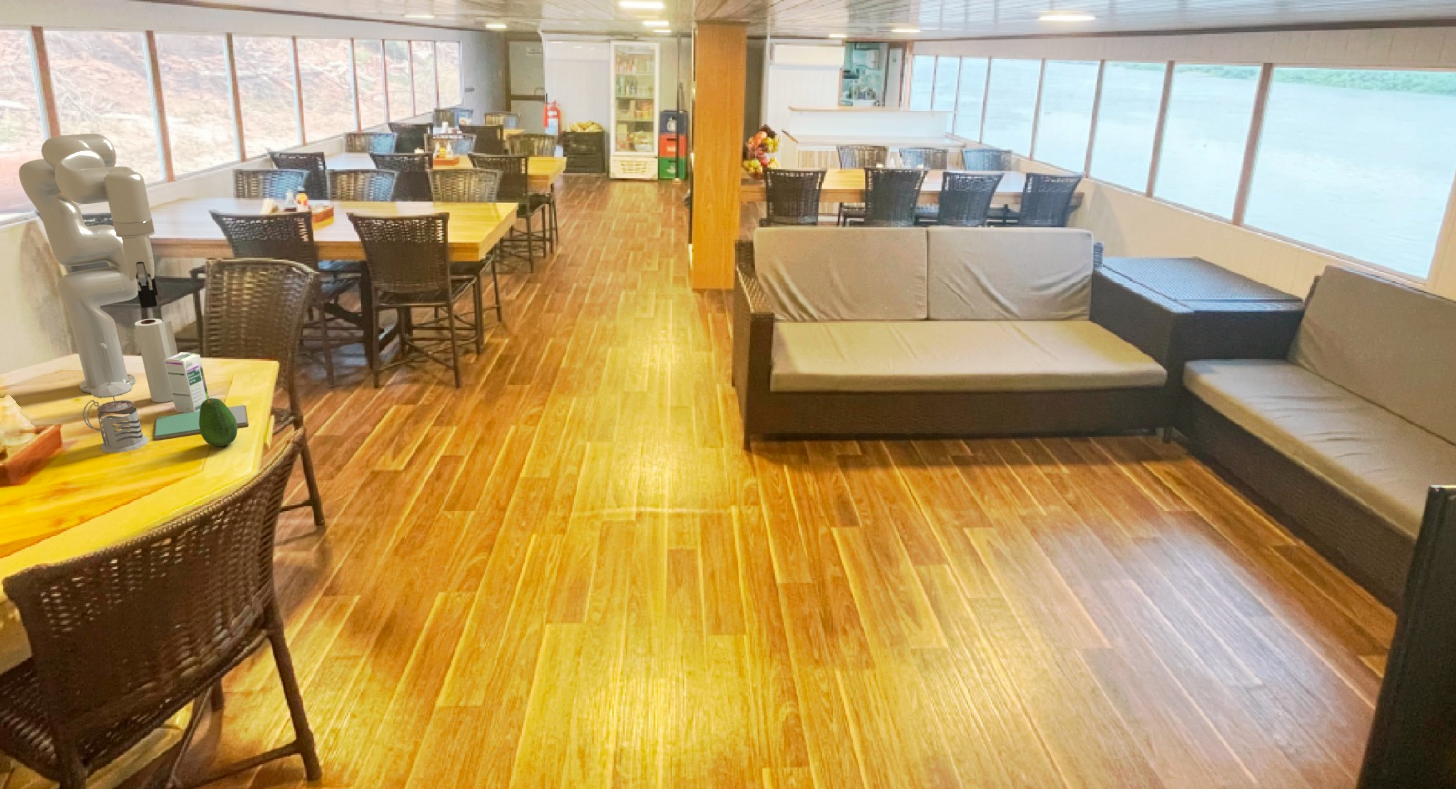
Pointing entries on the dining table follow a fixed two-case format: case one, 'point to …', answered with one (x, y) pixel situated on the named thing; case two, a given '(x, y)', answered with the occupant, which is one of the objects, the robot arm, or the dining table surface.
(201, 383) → the syrup box
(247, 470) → the dining table surface
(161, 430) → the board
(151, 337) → the paper towel roll
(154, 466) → the dining table surface
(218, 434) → the avocado
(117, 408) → the french press
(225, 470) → the dining table surface
